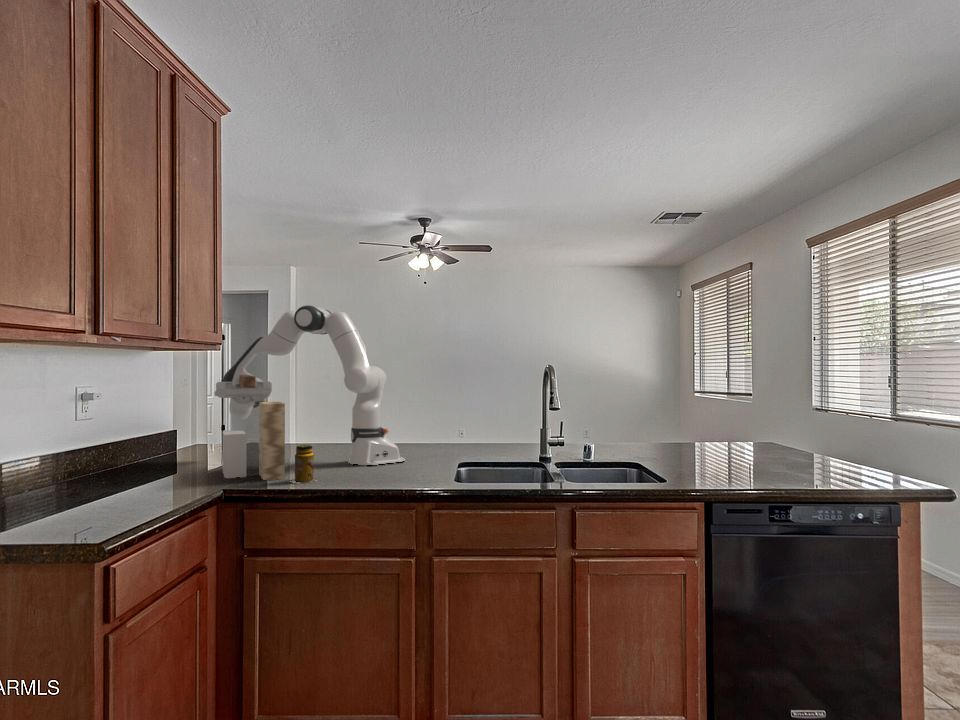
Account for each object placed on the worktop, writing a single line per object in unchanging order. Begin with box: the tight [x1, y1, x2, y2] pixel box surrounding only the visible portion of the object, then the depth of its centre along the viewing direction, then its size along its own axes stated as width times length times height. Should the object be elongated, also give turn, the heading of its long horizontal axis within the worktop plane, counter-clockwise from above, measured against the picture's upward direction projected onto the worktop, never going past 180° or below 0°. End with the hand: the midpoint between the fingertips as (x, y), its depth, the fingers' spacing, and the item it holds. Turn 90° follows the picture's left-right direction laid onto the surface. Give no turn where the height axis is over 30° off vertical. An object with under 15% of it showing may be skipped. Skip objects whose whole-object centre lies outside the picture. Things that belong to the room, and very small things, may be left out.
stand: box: [258, 401, 286, 481], centre depth 211 cm, size 7×13×26 cm, turn 26°
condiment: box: [286, 444, 318, 485], centre depth 202 cm, size 7×8×12 cm
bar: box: [239, 374, 257, 388], centre depth 221 cm, size 4×20×4 cm, turn 26°
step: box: [222, 429, 248, 479], centre depth 216 cm, size 7×15×15 cm, turn 26°
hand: (245, 379), depth 227 cm, fingers closed on bar, 4 cm apart
